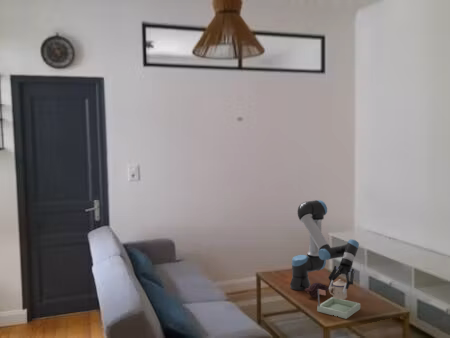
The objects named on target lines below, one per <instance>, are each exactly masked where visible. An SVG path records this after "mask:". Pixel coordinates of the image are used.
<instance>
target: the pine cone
mask: <svg viewBox="0 0 450 338" xmlns="http://www.w3.org/2000/svg"><path fill="white" fill-rule="evenodd" d="M318 289H320V290H325V291H326V293H327V292H329V286H326V284H323V283H320V282H315V283H314V282H313V283H312V284H311V286H309V288H306V289H305V290H304V291H305V292H306V293H307V294H308V295H309V296H310V297H312V298H318ZM320 295H321V294H319V296H320ZM321 296H322V295H321Z"/></svg>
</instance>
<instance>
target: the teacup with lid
mask: <svg viewBox="0 0 450 338" xmlns="http://www.w3.org/2000/svg"><path fill="white" fill-rule="evenodd" d="M345 283H346V281H343V280H342V279H341V278H340V279H337V280H336V281H335V280H334V282H333V284H332V285H333V287H331V288H330V289H328V292H329V293H330V295H332V297H334V298H335V299H343V300H346V299H347V298H348V289H347V290H346V293H345V294H344V293H343V289H344V286H345ZM331 289H332V290H331Z"/></svg>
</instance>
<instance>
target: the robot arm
mask: <svg viewBox="0 0 450 338" xmlns="http://www.w3.org/2000/svg"><path fill="white" fill-rule="evenodd" d="M327 213H328V208H327V204H326V203H325V202H324V201H323V200H320V199H318V200H315V199H314V200H310V201H303V202H301V203H300V204H299V206H298V208H297V217H298V219H299V221H300V223H302V224H303V225H304V227H305V229H306V230H307V231H308V233H309V245H308V247H309V250H308V251H307V252H306V253H307V255H306V254H298V255H295V256H293V257H292V259H291V271H292V275H291V276H292V277H291V280H290V286H289V287H290V289H292V290H295V291H306V290H305V289H306V288H309V286H311V285H312V284H311V282H310V279H309V273H312V272H316V271H317V272H319V271H321V270H323V269H324V268H325V267H326V264H327V261H329V260H332V259H337V258H341V260H340V264H339V266H337V265H334V267H333V269H332V271H331V272H330V274H329V275H328V279H329V282H328V283H329V284H328V285H329V286H328V288H329V289H330V288H331V287H333V285H332V284H333V282H335V280H336V279H337V278H338V277H339V276H340V275H345V278H346V282H345V286H344V289H343V293H344V294H345V293H346V290H347V291H348V289H349V287H350V286H351V285H353V284H354V277H355V273H356V271H355V269H354V268H353V263H354V261H355V259H356V256H357V253H358V249H359V246H360V243H359V242H358V241H357V240H355V239H348V241H346V242H347V243H346V244H342V245H339V246H333V247H332V246H330V245H329V243H328V241H327V240H326V238H325V236H324V234H323V233H322V221H323V220H324V217H325V216H326V214H327ZM349 273H350V275H349ZM329 289H328V290H329ZM331 291H333V288H332V289H331Z"/></svg>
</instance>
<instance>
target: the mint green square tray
mask: <svg viewBox="0 0 450 338" xmlns="http://www.w3.org/2000/svg"><path fill="white" fill-rule="evenodd" d="M319 294H321V296H327V292H326V291H325V290H320V289H318V296H317V308H316V309H317V310H316V311H317V312H319V313H321V314H327V315H331V316H333V315H334V317H337V316H338V317H337V318H342V319H345V320H346V319H348V318H350V317H351V316H352V315H353V314H355V313H357V312H358V311H359V310H361V303H359V302H356V301H351V300H348V299H347V300H346V299H335V298H334V297H333V296H331V297H330V298H327V300H325V301H323V302H321V301H320V295H319ZM320 302H321V303H320Z"/></svg>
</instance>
